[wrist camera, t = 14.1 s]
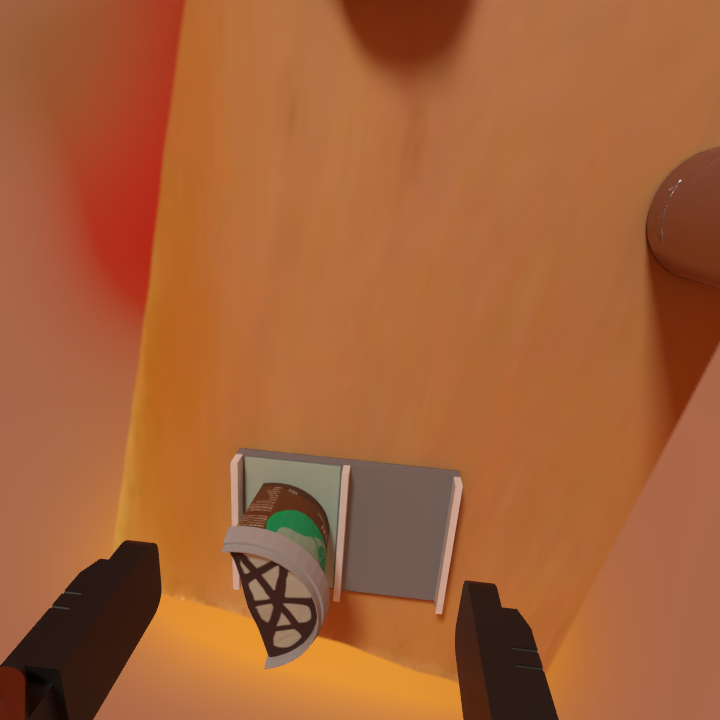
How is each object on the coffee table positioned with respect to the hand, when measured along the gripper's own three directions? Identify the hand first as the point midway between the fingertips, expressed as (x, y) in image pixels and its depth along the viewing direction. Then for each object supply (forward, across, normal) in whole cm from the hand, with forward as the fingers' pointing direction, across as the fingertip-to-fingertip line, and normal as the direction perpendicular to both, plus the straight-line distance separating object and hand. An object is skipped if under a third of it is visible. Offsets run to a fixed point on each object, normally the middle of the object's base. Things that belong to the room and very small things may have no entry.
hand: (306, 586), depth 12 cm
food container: (+27, +4, +19) cm, 34 cm away
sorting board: (+28, +1, +20) cm, 35 cm away
